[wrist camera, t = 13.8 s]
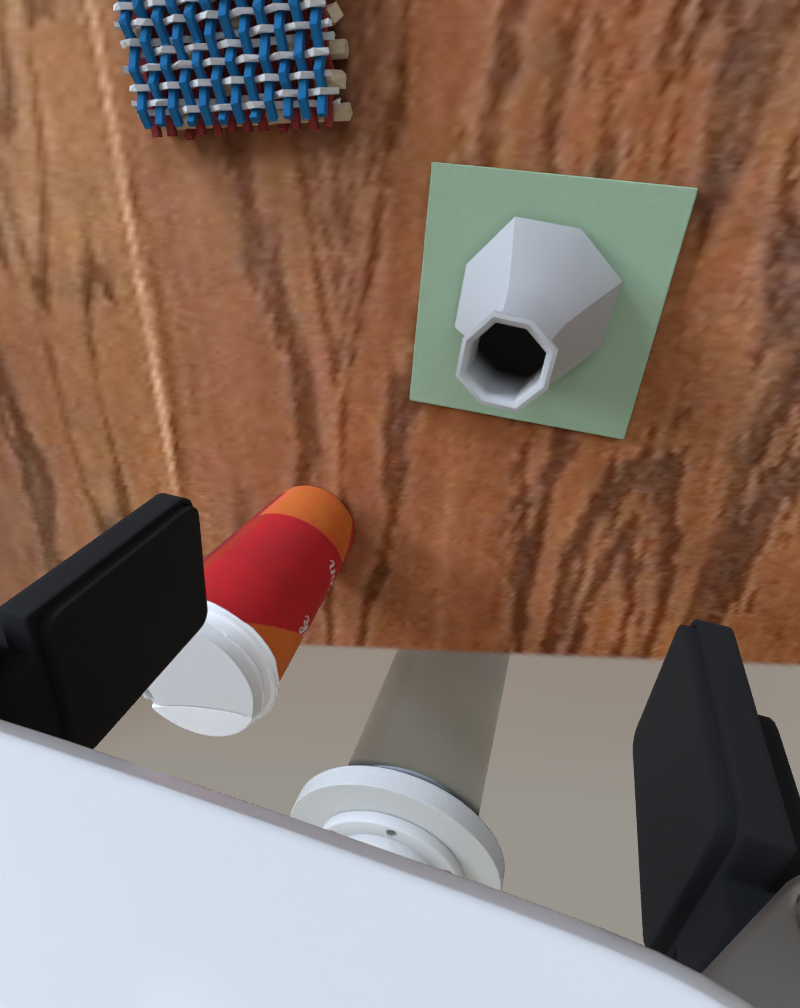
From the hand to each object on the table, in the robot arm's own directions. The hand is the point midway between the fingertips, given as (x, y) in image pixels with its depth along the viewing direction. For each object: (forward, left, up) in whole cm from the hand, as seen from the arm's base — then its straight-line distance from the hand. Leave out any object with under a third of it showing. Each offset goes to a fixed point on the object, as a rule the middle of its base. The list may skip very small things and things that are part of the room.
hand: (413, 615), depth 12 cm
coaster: (+2, 0, -21) cm, 21 cm away
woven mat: (+13, +15, -21) cm, 29 cm away
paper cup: (-13, +11, -21) cm, 27 cm away
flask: (+2, 0, -21) cm, 21 cm away
